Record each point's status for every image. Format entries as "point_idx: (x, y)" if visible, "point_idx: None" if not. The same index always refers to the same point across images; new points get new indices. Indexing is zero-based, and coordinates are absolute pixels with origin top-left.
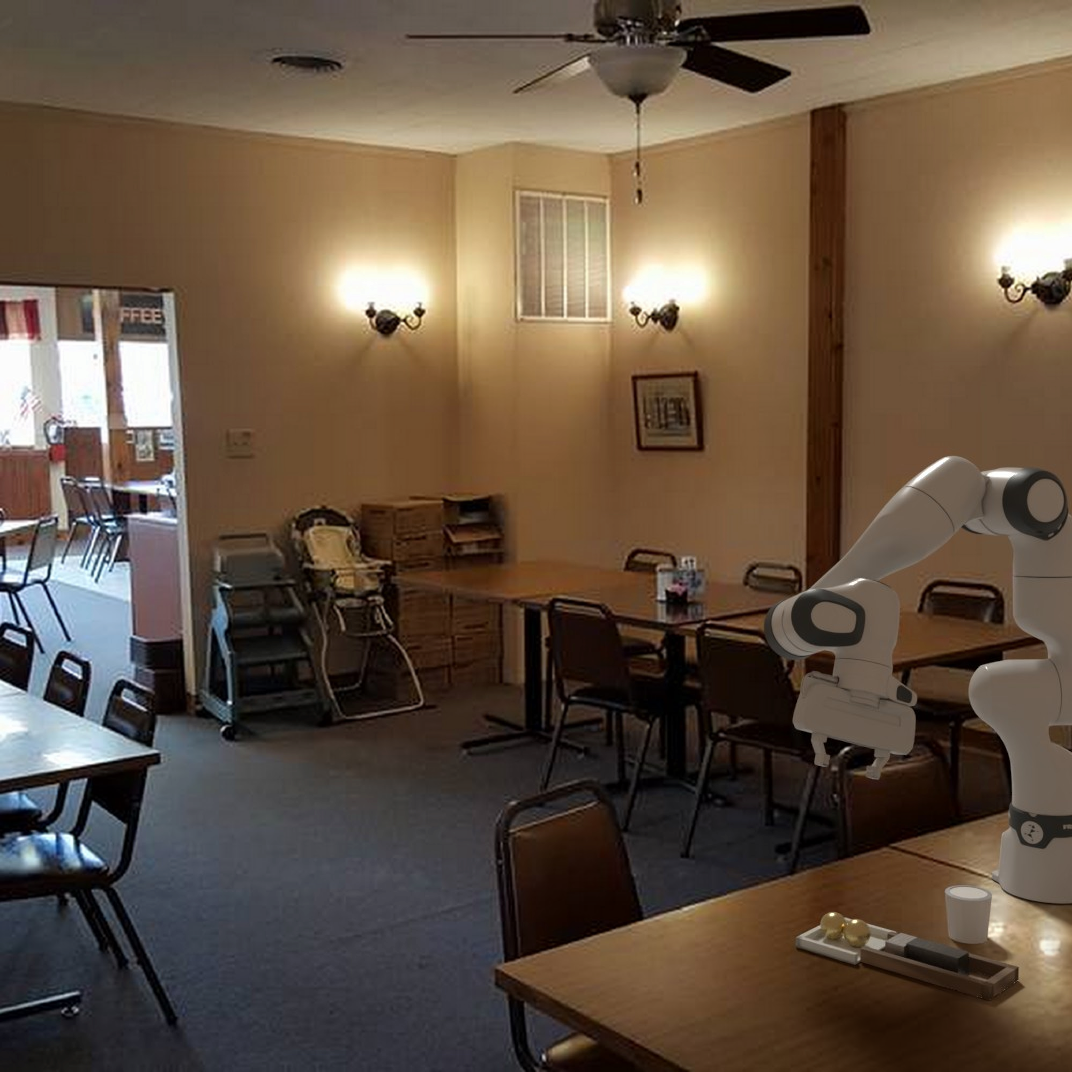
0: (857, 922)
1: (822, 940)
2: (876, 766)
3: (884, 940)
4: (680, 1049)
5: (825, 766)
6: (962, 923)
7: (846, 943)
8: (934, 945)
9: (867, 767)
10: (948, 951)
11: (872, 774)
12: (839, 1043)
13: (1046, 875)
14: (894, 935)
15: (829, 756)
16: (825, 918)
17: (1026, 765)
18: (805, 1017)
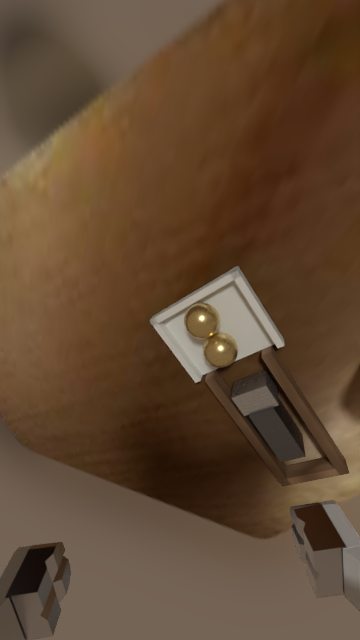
0: (215, 363)
1: None
2: (347, 585)
3: (266, 337)
4: (28, 437)
5: (64, 563)
6: None
7: None
8: (277, 431)
9: (309, 549)
10: (282, 447)
11: (299, 554)
12: (128, 470)
13: None
14: (267, 365)
15: (52, 628)
16: (186, 326)
17: None
18: (116, 436)
